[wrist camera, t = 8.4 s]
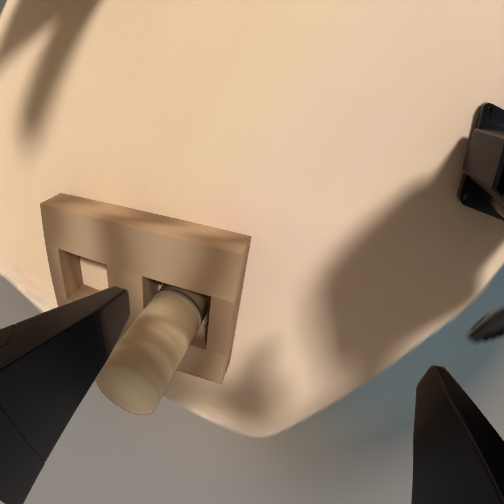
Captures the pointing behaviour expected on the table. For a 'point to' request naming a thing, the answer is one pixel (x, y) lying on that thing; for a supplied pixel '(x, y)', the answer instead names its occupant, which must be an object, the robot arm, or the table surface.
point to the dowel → (152, 349)
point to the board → (150, 267)
